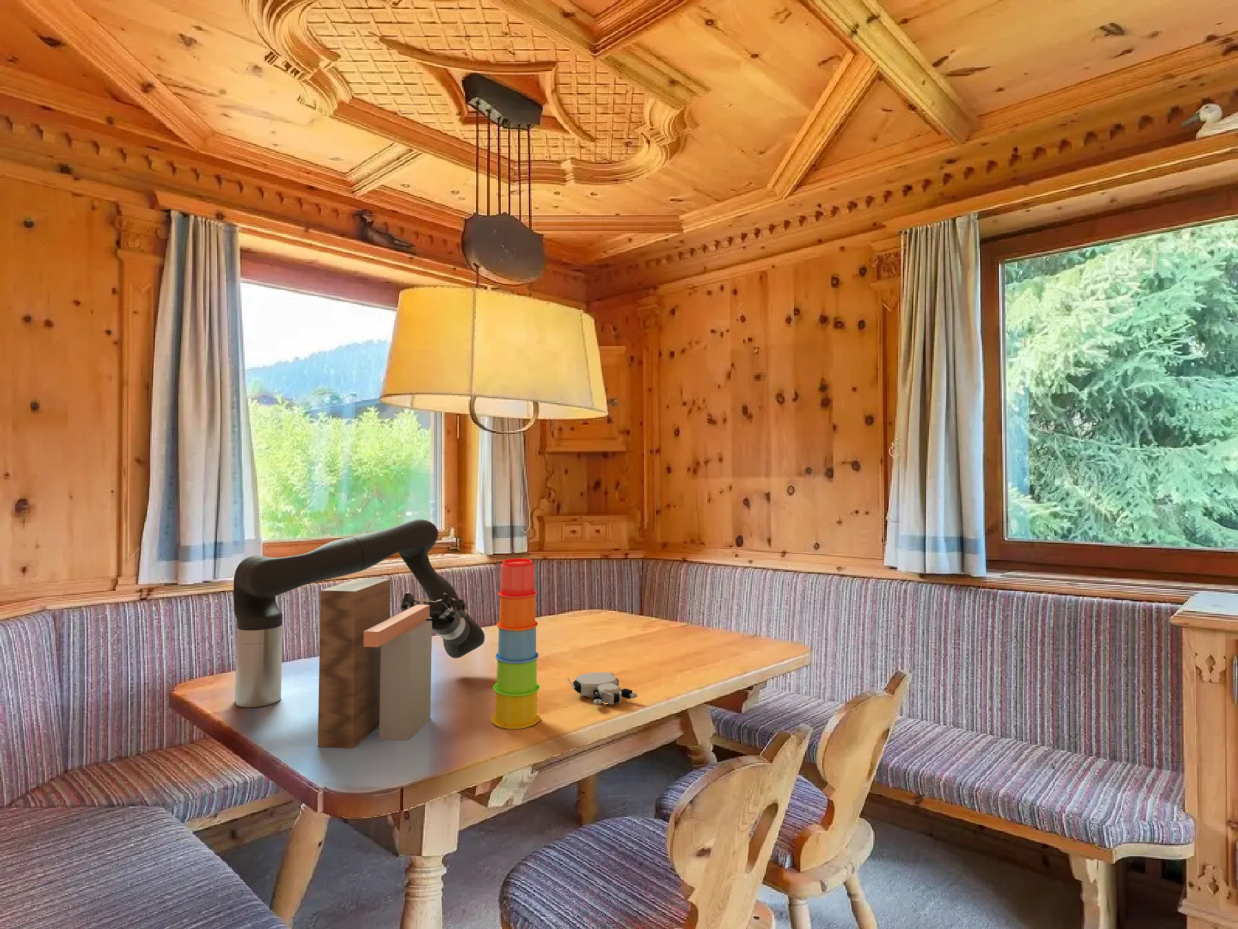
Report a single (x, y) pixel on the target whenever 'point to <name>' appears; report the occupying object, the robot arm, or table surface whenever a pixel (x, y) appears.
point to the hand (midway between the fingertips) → (425, 596)
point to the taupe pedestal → (405, 683)
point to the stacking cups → (516, 648)
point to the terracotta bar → (395, 626)
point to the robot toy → (601, 687)
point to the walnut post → (350, 661)
